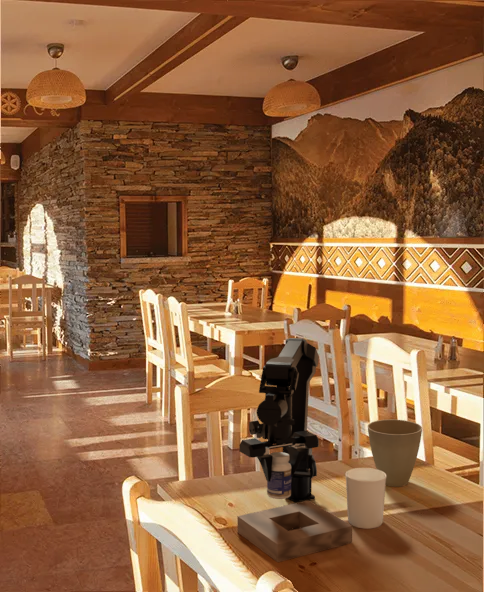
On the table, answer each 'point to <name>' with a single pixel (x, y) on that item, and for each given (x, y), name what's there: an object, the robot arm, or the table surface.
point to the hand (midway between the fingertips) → (279, 479)
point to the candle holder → (365, 497)
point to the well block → (290, 544)
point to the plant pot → (395, 448)
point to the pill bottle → (280, 476)
